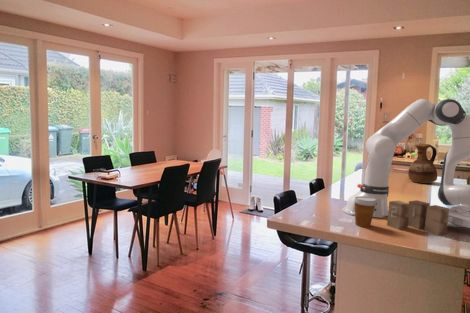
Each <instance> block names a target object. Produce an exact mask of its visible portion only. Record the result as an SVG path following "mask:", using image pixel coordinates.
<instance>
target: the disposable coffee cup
mask: <svg viewBox="0 0 470 313" xmlns="http://www.w3.org/2000/svg"><path fill="white" fill-rule="evenodd" d="M354 203H355V215H354V218H355V219H354V220H355V225H356V226H357V227H361V228H370V227H371V225H372V221H373V218H374V217H373V212H374V208H375V205H376V199H374V198H371V197H364V196H357V197H355V199H354Z"/></svg>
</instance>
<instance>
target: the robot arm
mask: <svg viewBox="0 0 470 313" xmlns="http://www.w3.org/2000/svg"><path fill="white" fill-rule="evenodd" d="M427 121H428V122H430V123H431V124H432V123H433V124H434V125H435V126H436V125H437V126H440V127H443V126H448V127H449V128H450V129H451V130H450V131H451V139H452V140H451V145H450V147H449V150H448V151H447V152H446V153H445V154H444V159H443V162H442V163H443V164H442V172H441V178H440V185H439V188H438V192H437V198H438V199H439V201H440V202H441V203H442V204H443V205H445V206H451V207H450V208H449V216H448V224H449V223H450V224H451V225H453V226H456V227H464V228H468V229H470V184H454V180H455V172H456V167H457V165H458V164H460V163H461V162H463V161H466V160H468V159H470V114H466V111H465V109H464V108H463V106H462V105H461V104H460V102H459V101H458V100H455V99H453V98H447V99H443V100H441V101H439V102H437V103H435V104H434V103H432V102H430V101H429V100H428V99H426V98H425V99H424V98H420V99H417V100H415V101H414V102H412V103H411V104H409V105H408V106H407V107H406V108H404V109H403V110H402V111H401V112H400V113H399V114H397V115H396V116H395V117H394V118H393V119H391V121H389V122H387V124H386V125H384V126H383V127H381V128H380V129H378V130H377V131H375V133H374V134H372V135H371V136H370V137H368V138H367V140H366V141H365V142H366V143H365V149H366V151H367V153H368V154H369V155H368V159H367V164H366V168H365V174H364V183H363V184H361V183H357V185H356V186H357V188H358V189H359V191H358V192H356V193H355V194H353V195H351V196H349V198H348V199H347V203H346V206H341V211H342V212H343V213H345V214H347V215H351V216H355V203H354V199H355V197H357V196H364V197H371V198H374V199H376V205H375V208H374V212H373V217H372V218H381V219H382V218H383V219H384V218H385V217H388V210H389V204H388V197H389V192H390V190H389V189H390V187H389V186H390V185H389V183H390V182H389V179H390V171H391V166H392V164H393V161H394V160H393V159H394V155H395V152H396V150H397V148H396V147H397V145H398V144H400V143H401V142H403V141H404V140H406V139H408V138H409V137H410V136H411V135H412V134H413V133H415V132H416V131H417V130H418V129H419V128H420V127H422V126H423V125H424V124H426V122H427Z"/></svg>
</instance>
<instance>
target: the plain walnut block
mask: <svg viewBox="0 0 470 313" xmlns="http://www.w3.org/2000/svg"><path fill="white" fill-rule="evenodd" d="M449 209H450V208H449V207H445V206H441V205H437V204H435V205H434V204H433V205H429V206H427V213H426V222H425V228H424V232H426V233H429V234H432V235H434V236H442V235H443V236H444V235H446V234H447V231H448V224H449V222H448V216H449Z"/></svg>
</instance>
